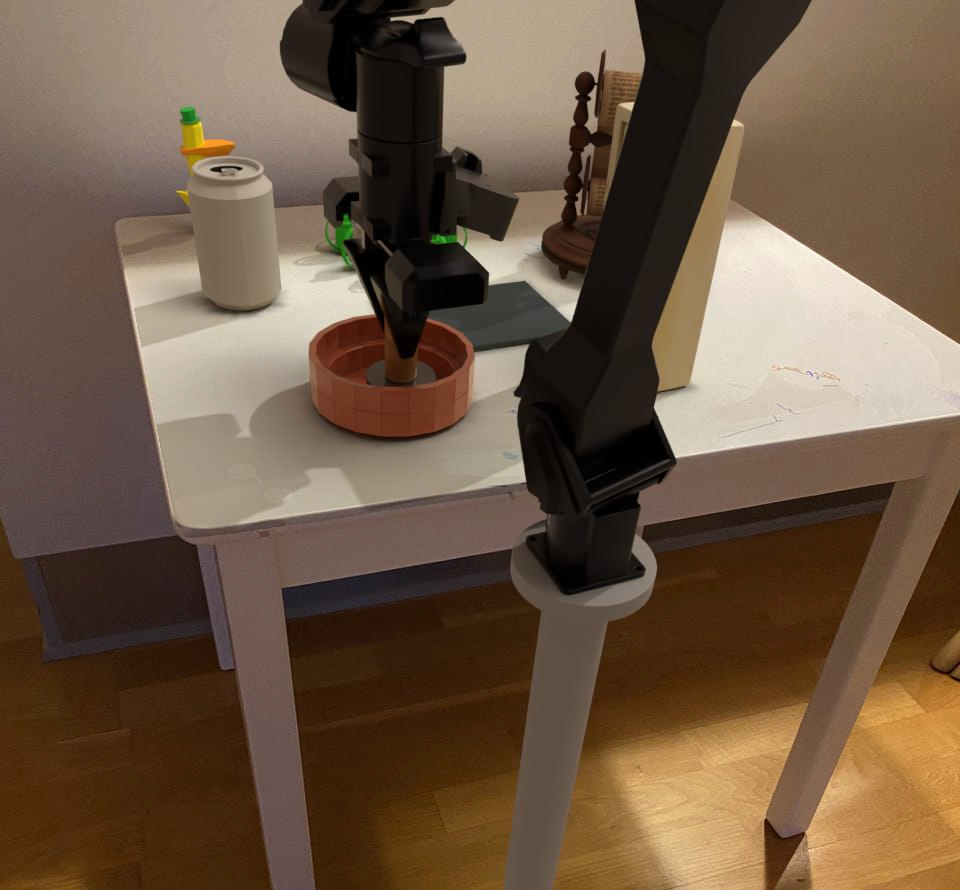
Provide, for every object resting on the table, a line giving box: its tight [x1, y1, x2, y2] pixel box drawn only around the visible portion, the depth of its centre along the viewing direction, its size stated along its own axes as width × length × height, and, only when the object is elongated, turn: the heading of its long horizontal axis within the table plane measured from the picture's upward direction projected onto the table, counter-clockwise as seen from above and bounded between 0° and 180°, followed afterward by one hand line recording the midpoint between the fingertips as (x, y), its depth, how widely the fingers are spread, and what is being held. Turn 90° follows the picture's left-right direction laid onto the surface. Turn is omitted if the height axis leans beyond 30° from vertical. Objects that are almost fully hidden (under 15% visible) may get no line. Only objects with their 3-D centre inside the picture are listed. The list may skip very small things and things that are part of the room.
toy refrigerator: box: [603, 102, 746, 392], centre depth 77 cm, size 8×7×21 cm
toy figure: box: [175, 106, 236, 209], centre depth 99 cm, size 7×4×12 cm, turn 116°
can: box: [186, 155, 283, 311], centre depth 87 cm, size 8×8×12 cm
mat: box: [428, 280, 571, 352], centre depth 90 cm, size 12×16×1 cm
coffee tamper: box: [366, 317, 436, 387], centre depth 73 cm, size 6×6×10 cm
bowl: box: [308, 313, 476, 437], centre depth 77 cm, size 13×13×4 cm
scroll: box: [540, 49, 643, 280], centre depth 95 cm, size 15×15×20 cm
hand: (400, 349), depth 73 cm, fingers closed on coffee tamper, 2 cm apart
